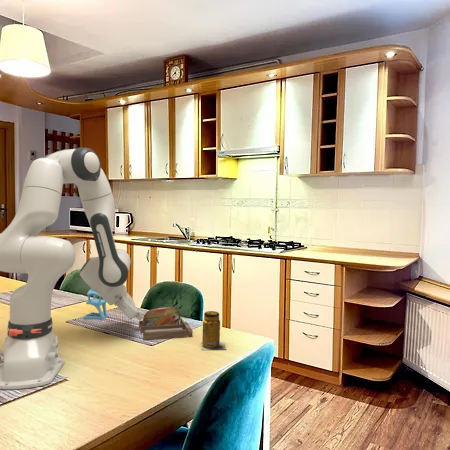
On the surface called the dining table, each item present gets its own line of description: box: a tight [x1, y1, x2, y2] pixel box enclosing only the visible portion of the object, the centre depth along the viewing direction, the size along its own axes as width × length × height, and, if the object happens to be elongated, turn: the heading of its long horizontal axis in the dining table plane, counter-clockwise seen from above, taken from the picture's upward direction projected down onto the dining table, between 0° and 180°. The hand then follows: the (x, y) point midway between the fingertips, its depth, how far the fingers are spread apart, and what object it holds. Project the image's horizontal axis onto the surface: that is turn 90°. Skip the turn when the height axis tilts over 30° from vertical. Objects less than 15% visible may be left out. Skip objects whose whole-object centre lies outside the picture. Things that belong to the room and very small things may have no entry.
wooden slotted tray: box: [138, 317, 194, 341], centre depth 162 cm, size 16×18×3 cm
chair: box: [83, 288, 108, 320], centre depth 177 cm, size 8×8×12 cm
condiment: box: [200, 310, 227, 351], centre depth 147 cm, size 7×8×12 cm
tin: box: [142, 306, 181, 326], centre depth 165 cm, size 15×3×8 cm, turn 123°
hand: (141, 317), depth 162 cm, fingers closed
